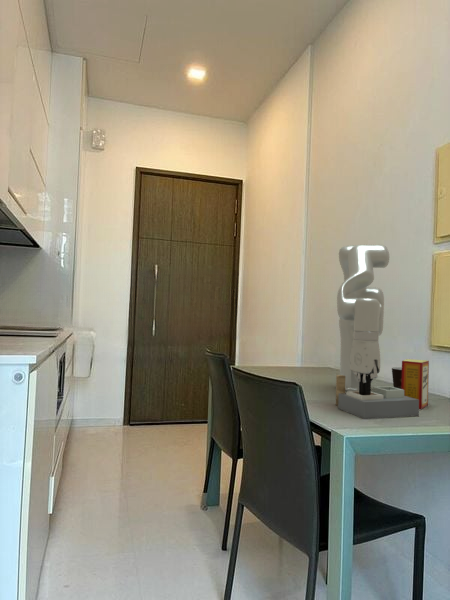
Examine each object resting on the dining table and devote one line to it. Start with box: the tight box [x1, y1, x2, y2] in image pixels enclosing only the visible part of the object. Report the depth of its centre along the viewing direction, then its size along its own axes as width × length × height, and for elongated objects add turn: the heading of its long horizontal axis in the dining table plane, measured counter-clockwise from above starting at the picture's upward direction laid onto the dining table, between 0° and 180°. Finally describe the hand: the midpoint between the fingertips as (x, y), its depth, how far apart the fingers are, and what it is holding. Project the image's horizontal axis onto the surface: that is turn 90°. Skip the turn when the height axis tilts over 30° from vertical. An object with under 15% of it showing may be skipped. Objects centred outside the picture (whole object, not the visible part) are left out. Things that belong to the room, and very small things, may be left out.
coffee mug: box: [391, 366, 402, 389], centre depth 177 cm, size 12×9×10 cm
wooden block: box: [335, 374, 346, 407], centre depth 153 cm, size 3×3×10 cm
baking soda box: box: [401, 358, 430, 410], centre depth 155 cm, size 10×6×16 cm
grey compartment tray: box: [337, 385, 420, 420], centre depth 143 cm, size 14×20×8 cm
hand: (364, 394), depth 142 cm, fingers closed
